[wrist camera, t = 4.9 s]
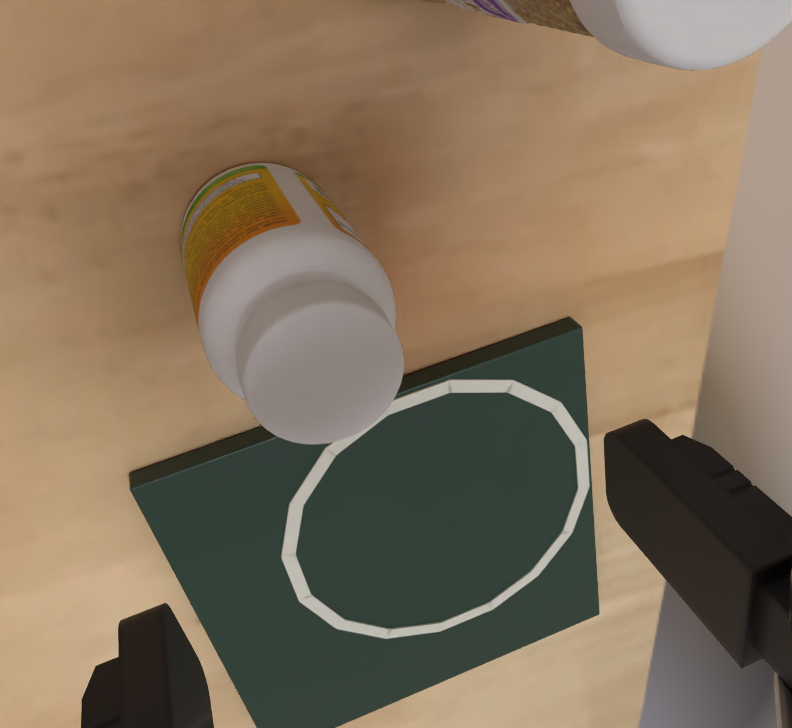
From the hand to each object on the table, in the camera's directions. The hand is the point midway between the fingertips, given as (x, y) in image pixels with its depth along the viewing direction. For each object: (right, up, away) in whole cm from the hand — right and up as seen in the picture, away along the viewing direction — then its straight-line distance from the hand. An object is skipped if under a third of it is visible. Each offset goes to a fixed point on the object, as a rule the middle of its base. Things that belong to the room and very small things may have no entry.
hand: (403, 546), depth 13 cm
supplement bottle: (-5, +8, +13) cm, 16 cm away
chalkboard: (0, -6, +23) cm, 23 cm away
